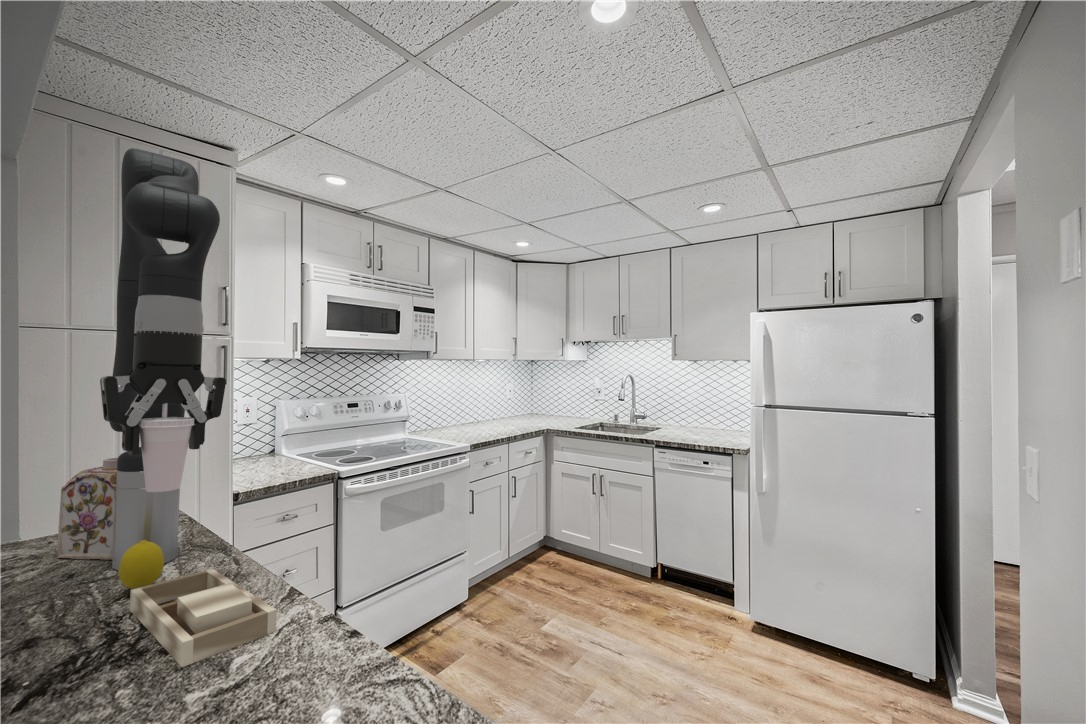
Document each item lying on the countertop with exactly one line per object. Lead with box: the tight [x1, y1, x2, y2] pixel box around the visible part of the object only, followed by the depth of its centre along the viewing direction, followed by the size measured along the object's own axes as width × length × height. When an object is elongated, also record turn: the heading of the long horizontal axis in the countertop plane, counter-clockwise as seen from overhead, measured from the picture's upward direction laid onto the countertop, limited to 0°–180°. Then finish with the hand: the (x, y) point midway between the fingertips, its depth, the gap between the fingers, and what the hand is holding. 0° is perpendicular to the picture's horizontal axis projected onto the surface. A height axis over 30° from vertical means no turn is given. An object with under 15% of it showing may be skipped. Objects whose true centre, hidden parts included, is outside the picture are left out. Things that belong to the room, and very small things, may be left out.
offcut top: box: [176, 583, 252, 634], centre depth 62 cm, size 8×6×2 cm
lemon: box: [118, 540, 165, 590], centre depth 76 cm, size 6×6×8 cm
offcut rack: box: [129, 568, 277, 668], centre depth 64 cm, size 22×10×4 cm, turn 53°
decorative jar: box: [57, 456, 119, 561], centre depth 95 cm, size 12×12×18 cm
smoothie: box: [137, 403, 195, 492], centre depth 66 cm, size 6×6×14 cm
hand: (164, 451), depth 66 cm, fingers closed on smoothie, 6 cm apart
